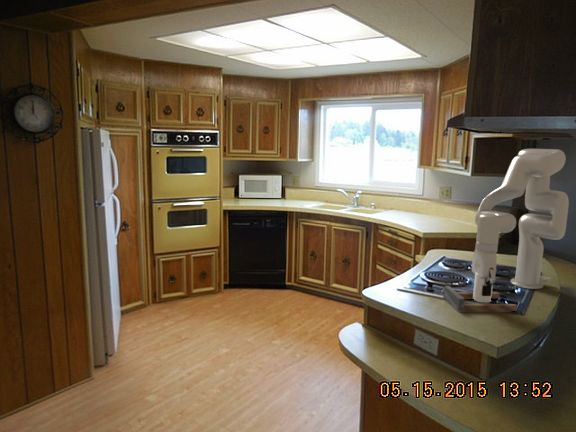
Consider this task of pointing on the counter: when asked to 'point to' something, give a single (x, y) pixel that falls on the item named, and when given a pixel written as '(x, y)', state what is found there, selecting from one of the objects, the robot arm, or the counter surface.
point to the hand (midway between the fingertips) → (481, 292)
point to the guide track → (458, 303)
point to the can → (480, 290)
